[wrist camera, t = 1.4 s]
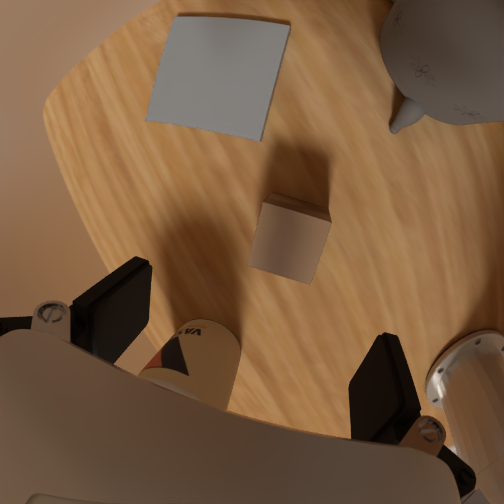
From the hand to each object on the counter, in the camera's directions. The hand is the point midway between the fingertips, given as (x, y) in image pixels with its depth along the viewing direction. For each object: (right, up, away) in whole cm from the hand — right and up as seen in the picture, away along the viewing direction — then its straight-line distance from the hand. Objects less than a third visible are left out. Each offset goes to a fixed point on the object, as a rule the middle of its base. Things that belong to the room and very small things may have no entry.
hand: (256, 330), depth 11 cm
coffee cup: (-5, -8, +21) cm, 23 cm away
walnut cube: (+3, +5, +15) cm, 16 cm away
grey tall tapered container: (+16, +19, +7) cm, 26 cm away
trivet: (-3, +19, +11) cm, 22 cm away
